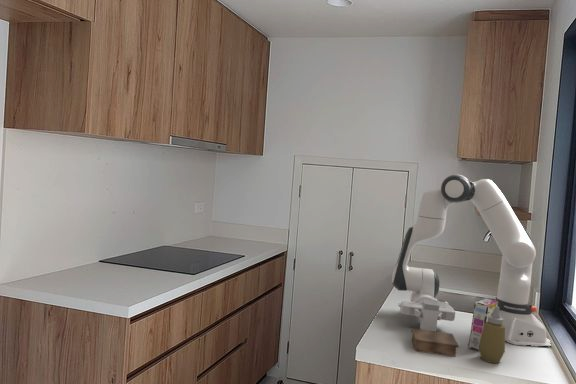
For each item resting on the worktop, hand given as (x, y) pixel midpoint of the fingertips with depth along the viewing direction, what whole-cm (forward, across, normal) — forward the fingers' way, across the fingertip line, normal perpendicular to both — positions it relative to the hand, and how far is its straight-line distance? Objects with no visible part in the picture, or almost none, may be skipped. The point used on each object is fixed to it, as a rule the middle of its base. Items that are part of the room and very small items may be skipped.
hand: (429, 316), depth 192 cm
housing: (-1, 0, +7) cm, 7 cm away
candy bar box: (+4, +18, +7) cm, 20 cm away
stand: (+13, 0, +7) cm, 15 cm away
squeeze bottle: (+17, +18, +7) cm, 26 cm away
